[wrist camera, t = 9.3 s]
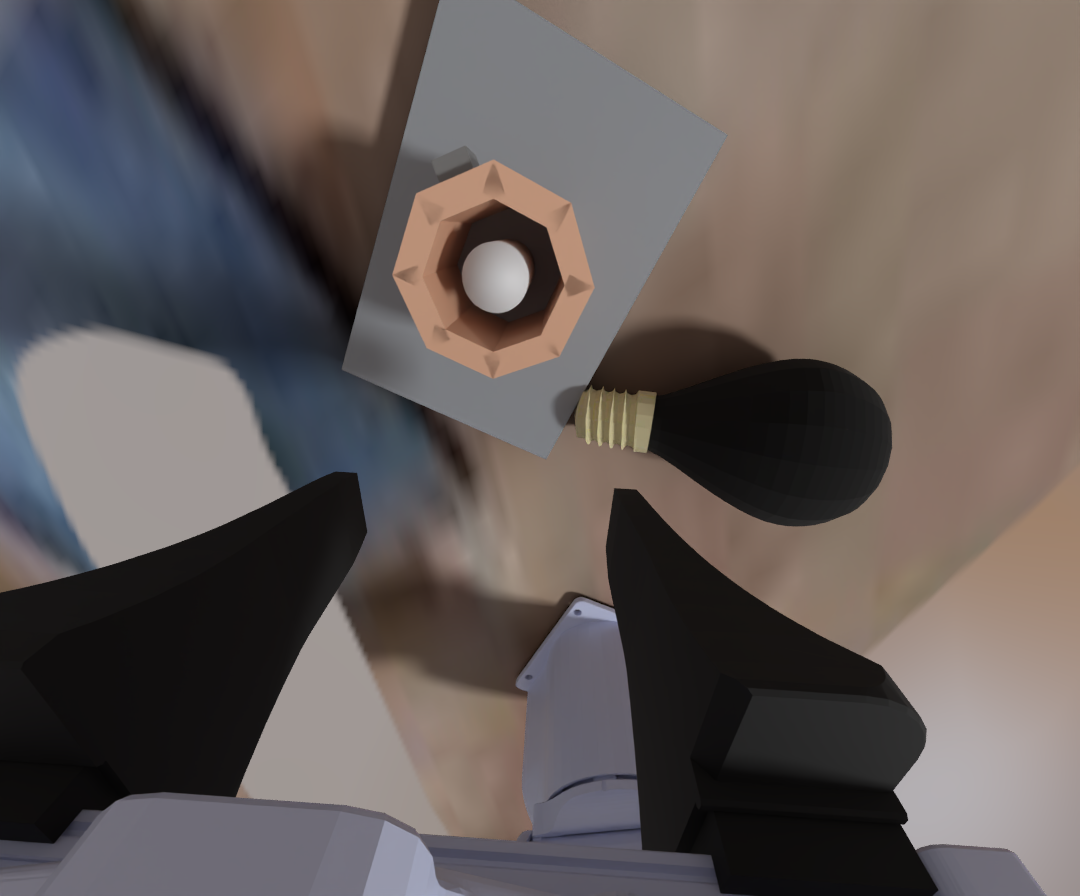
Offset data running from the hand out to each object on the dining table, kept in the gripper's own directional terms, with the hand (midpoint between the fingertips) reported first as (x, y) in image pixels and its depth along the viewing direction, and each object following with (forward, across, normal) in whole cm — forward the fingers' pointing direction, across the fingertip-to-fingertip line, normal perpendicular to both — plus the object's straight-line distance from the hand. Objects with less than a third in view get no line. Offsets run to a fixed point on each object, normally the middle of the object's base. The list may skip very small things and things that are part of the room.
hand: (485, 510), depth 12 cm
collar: (+8, 0, -6) cm, 10 cm away
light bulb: (+10, -9, 0) cm, 13 cm away
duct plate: (+9, 0, -6) cm, 11 cm away
